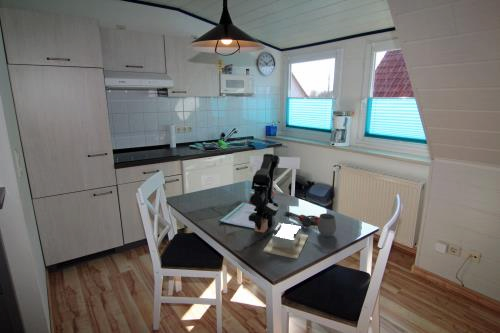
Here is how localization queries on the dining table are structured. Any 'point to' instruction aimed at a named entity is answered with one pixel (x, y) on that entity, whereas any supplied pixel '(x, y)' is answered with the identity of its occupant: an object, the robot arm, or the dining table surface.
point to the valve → (305, 219)
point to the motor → (286, 236)
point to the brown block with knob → (263, 226)
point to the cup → (326, 225)
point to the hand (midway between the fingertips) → (261, 227)
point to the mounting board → (287, 253)
